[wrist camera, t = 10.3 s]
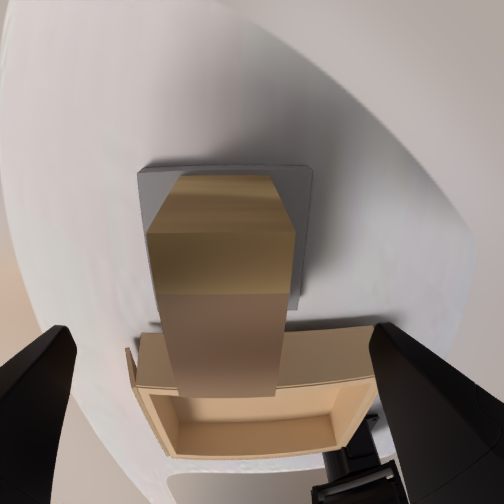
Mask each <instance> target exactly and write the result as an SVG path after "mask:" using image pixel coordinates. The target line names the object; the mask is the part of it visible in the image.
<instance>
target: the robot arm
mask: <svg viewBox="0 0 504 504" xmlns="http://www.w3.org/2000/svg"><path fill="white" fill-rule="evenodd" d="M368 347H369V353H370V358H371V362H372V366H373V371H374V375H375V380H376V385H377V389H378V393H379V396H380V400H381V403H382V406H383V409H384V412H385V415H386V419H387V422H388V425H389V428H390V432H391V435H392V438H393V442H394V445H395V448H396V452H397V456H398V459H399V462H400V466H401V470H402V474H403V477H404V481H405V485H406V489H407V493H408V498H409V501H410V504H504V403H503V402H501V401H500V400H498V399H497V398H495V397H494V396H492V395H491V394H490V393H488V392H487V391H485V390H484V389H483V388H481V387H480V386H479V385H477V384H475V383H474V382H473V381H472V380H470V379H469V378H468V377H466V376H465V375H464V374H462V373H461V372H460V371H458V370H457V369H455V368H454V367H452V366H451V365H450V364H448V363H447V362H446V361H444V360H443V359H442V358H440V357H439V356H438V355H436V354H435V353H433V352H432V351H431V350H429V349H428V348H426V347H425V346H424V345H422V344H421V343H419V342H418V341H417V340H415V339H414V338H412V337H411V336H410V335H408V334H407V333H405V332H404V331H403V330H401V329H400V328H398V327H397V326H395V325H394V324H393V323H391V322H388V321H387V322H379V323H377V324H376V325H375V327H374V330H373V333H372V335H371V338H370V341H369V346H368ZM76 355H77V347H76V344H75V341H74V339H73V337H72V335H71V333H70V330H69V328H68V327H67V326H63V325H54V326H53V327H51V328H50V329H49V330H47V331H46V332H45V333H43V334H42V335H41V336H39V337H38V338H37V339H36V340H34V341H33V342H32V343H30V344H29V345H28V346H26V347H25V348H24V349H23V350H21V351H20V352H19V353H18V354H16V355H15V356H14V357H12V358H11V359H10V360H9V361H7V362H6V363H5V364H4V365H3V366H1V367H0V504H50V501H51V492H52V484H53V483H52V482H53V476H54V469H55V463H56V457H57V451H58V445H59V440H60V435H61V430H62V426H63V421H64V416H65V412H66V408H67V404H68V399H69V395H70V390H71V383H72V377H73V371H74V366H75V360H76ZM378 419H379V416H378V414H374V415H370V416H365V417H364V418H363V420H362V422H361V423H360V425H359V427H358V428H357V430H356V431H355V433H354V434H353V436H352V438H351V439H350V441H349V442H348V444H347V445H346V447H341V449H339V450H333V451H327V452H322V455H323V459H324V464H325V468H326V472H327V478H328V482H329V483H327V484H323V485H319V486H318V485H316V486H313V487H312V490H311V495H312V504H409V503H408V499H407V496H406V493H405V490H404V487H403V484H402V481H401V478H400V475H399V472H398V469H397V466H396V464H395V461H394V459H393V460H390V461H389V462H387V463H385V464H383V465H381V462H380V458H379V455H378V452H377V449H376V446H375V443H374V440H373V437H372V434H371V430H372V428H373V427H374V425H375V424H376V422H377V421H378ZM390 475H393V477H392V478H390V479H387V478H386V477H387V476H390Z"/></svg>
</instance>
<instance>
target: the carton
mask: <svg viewBox="0 0 504 504" xmlns="http://www.w3.org/2000/svg"><path fill="white" fill-rule="evenodd" d="M373 330H374V328H373V325H368V326H359V327H348V328H337V329H325V330H312V331H296V332H284V338H283V345H282V353H281V360H280V367H279V373H278V380H277V387H276V393H275V397H256V398H183V397H179V394H178V390H177V387H176V383H175V379H174V375H173V371H172V367H171V363H170V359H169V355H168V351H167V347H166V342H165V338H164V334H160V333H141V339H140V347H139V355H138V364H137V368H136V365H135V362H134V359H133V357H132V354H131V351H130V348H129V347H128V348H125V352H126V358H127V365H128V371H129V377H130V382H131V388H132V390H133V392H134V394H135V397H136V399H137V401H138V403H139V405H140V407H141V409H142V411H143V413H144V415H145V417H146V419H147V421H148V423H149V425H150V427H151V429H152V430H153V432H154V434H155V436H156V438H157V440H158V442H159V443H160V445H161V447H162V449H163V450H164V452H165V454H166V456H171V458H176V459H193V460H251V459H268V458H280V457H290V456H299V455H307V454H314V453H321V452H327V451H333V450H339V449H341V447H346V445H347V444H348V442H349V441H350V439H351V438H352V436H353V434H354V433H355V431H356V430H357V428H358V427H359V425H360V423H361V422H362V420H363V418H364V417H365V415H366V413H367V412H368V410H369V408H370V407H371V405H372V403H373V401H374V400H375V398H376V396H377V394H378V389H377V385H376V380H375V375H374V371H373V366H372V362H371V358H370V353H369V347H368V346H369V341H370V338H371V335H372V333H373Z"/></svg>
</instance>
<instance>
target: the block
mask: <svg viewBox="0 0 504 504" xmlns="http://www.w3.org/2000/svg"><path fill="white" fill-rule="evenodd" d="M295 236H296V231H295V229H294V227H293V225H292V222H291V220H290V218H289V216H288V214H287V212H286V209H285V207H284V205H283V203H282V201H281V199H280V197H279V194H278V192H277V190H276V188H275V186H274V184H273V182H272V180H271V178H270V175H188V176H179V178H178V179H177V181H176V183H175V184H174V186H173V187H172V189H171V191H170V192H169V194H168V196H167V197H166V199H165V201H164V202H163V204H162V206H161V208H160V209H159V211H158V213H157V214H156V216H155V218H154V220H153V221H152V223H151V225H150V227H149V228H148V230H147V232H146V239H147V246H148V253H149V259H150V265H151V271H152V277H153V283H154V289H155V294H156V299H157V305H158V310H159V315H160V319H161V324H162V329H163V333H164V338H165V342H166V347H167V351H168V355H169V359H170V363H171V367H172V371H173V375H174V379H175V383H176V387H177V390H178V394H179V397H183V398H256V397H275V393H276V387H277V380H278V373H279V367H280V360H281V353H282V345H283V338H284V331H285V323H286V315H287V307H288V299H289V291H290V282H291V274H292V265H293V255H294V246H295Z"/></svg>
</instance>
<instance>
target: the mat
mask: <svg viewBox="0 0 504 504" xmlns="http://www.w3.org/2000/svg"><path fill="white" fill-rule="evenodd" d="M188 175H270V178H271V180H272V182H273V184H274V186H275V188H276V190H277V192H278V194H279V197H280V199H281V201H282V203H283V205H284V207H285V209H286V212H287V214H288V216H289V218H290V220H291V222H292V225H293V227H294V229H295V231H296V236H295V246H294V255H293V265H292V274H291V282H290V291H289V299H288V307H287V310H297V309H298V301H299V294H300V287H301V279H302V271H303V263H304V255H305V246H306V237H307V228H308V218H309V209H310V198H311V187H312V176H313V171H312V170H311V169H310V168H309V167H308V166H294V165H194V166H170V167H153V168H142V169H141V170H140V171H139V172H138V173H137V180H138V190H139V199H140V207H141V215H142V223H143V230H144V237H145V243H146V250H147V256H148V262H149V268H150V274H151V279H152V285H153V290H154V295H155V300H156V305H157V299H156V294H155V289H154V283H153V277H152V271H151V265H150V259H149V253H148V246H147V239H146V232H147V230H148V228H149V227H150V225H151V223H152V221H153V220H154V218H155V216H156V214H157V213H158V211H159V209H160V208H161V206H162V204H163V202H164V201H165V199H166V197H167V196H168V194H169V192H170V191H171V189H172V187H173V186H174V184H175V183H176V181H177V179H178V178H179V176H188ZM157 310H158V305H157ZM158 312H159V310H158Z"/></svg>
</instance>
